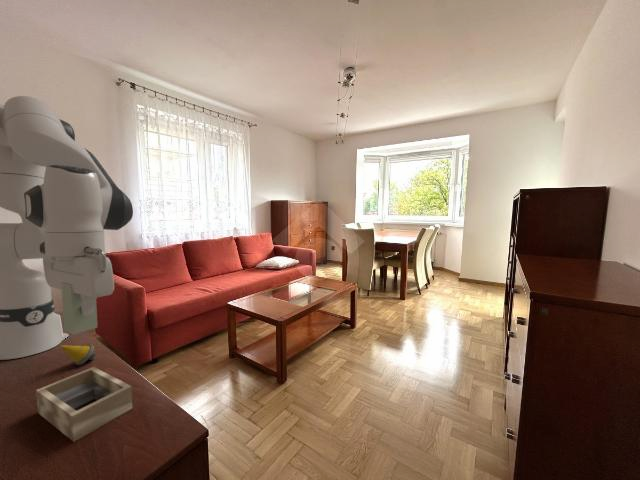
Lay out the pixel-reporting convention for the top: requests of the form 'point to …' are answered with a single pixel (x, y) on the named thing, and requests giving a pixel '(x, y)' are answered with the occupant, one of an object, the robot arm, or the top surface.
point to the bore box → (83, 402)
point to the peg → (76, 312)
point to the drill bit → (80, 353)
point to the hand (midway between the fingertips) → (80, 312)
